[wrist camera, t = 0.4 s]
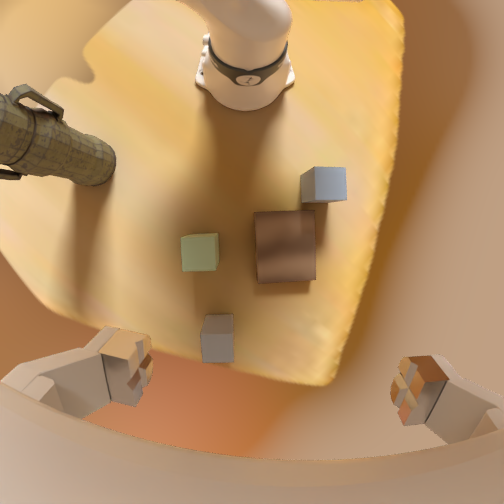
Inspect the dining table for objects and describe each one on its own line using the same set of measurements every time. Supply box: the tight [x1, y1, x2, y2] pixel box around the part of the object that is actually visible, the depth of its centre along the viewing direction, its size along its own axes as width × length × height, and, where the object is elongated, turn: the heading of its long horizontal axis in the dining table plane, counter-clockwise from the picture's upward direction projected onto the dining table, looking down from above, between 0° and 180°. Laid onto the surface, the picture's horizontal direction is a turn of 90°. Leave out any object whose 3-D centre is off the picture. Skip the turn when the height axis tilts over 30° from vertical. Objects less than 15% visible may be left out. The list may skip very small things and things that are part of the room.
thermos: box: [0, 84, 116, 186], centre depth 34 cm, size 9×12×35 cm
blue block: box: [301, 167, 347, 203], centre depth 49 cm, size 5×5×10 cm
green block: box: [181, 233, 220, 272], centre depth 49 cm, size 5×5×10 cm
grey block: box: [200, 314, 234, 363], centre depth 51 cm, size 5×5×10 cm
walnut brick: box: [254, 210, 316, 284], centre depth 53 cm, size 12×10×4 cm
